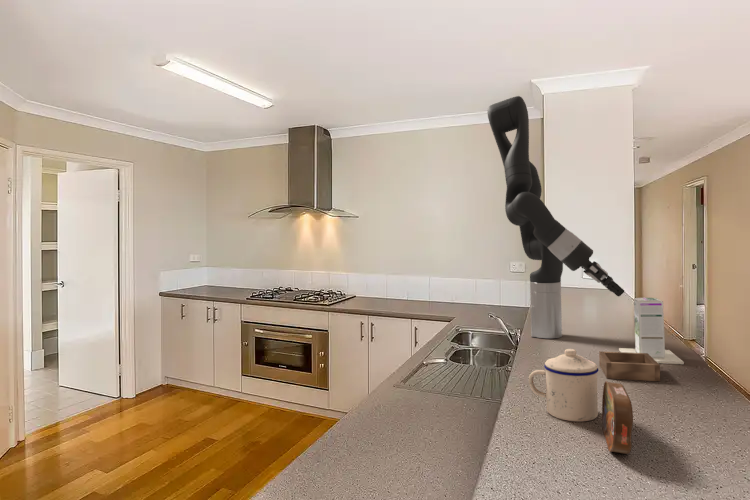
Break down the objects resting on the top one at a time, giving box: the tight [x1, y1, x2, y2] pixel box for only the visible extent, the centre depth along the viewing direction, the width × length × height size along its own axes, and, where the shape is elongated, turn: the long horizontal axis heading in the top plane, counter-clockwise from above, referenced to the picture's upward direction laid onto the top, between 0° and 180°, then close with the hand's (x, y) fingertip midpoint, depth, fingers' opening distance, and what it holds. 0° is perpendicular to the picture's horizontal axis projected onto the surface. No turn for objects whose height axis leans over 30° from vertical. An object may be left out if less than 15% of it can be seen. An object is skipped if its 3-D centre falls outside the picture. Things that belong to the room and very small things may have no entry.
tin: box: [601, 380, 634, 455], centre depth 74 cm, size 15×3×8 cm, turn 159°
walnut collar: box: [598, 350, 661, 382], centre depth 108 cm, size 10×10×4 cm
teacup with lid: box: [528, 348, 599, 423], centre depth 86 cm, size 12×9×12 cm
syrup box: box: [633, 297, 666, 358], centre depth 120 cm, size 6×6×14 cm
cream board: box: [618, 347, 685, 365], centre depth 121 cm, size 12×12×1 cm
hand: (618, 291), depth 123 cm, fingers open, 8 cm apart
